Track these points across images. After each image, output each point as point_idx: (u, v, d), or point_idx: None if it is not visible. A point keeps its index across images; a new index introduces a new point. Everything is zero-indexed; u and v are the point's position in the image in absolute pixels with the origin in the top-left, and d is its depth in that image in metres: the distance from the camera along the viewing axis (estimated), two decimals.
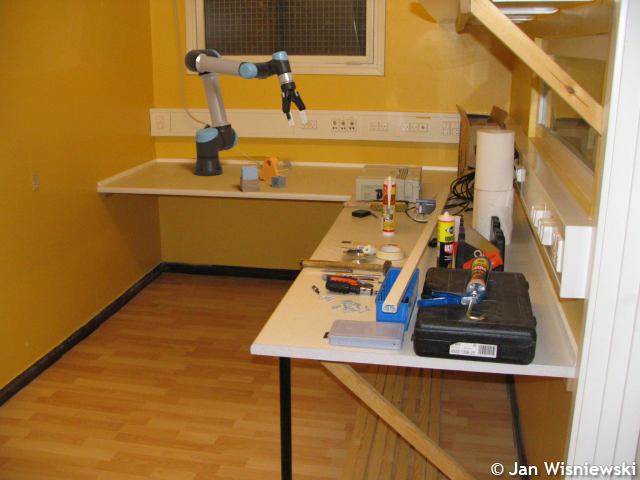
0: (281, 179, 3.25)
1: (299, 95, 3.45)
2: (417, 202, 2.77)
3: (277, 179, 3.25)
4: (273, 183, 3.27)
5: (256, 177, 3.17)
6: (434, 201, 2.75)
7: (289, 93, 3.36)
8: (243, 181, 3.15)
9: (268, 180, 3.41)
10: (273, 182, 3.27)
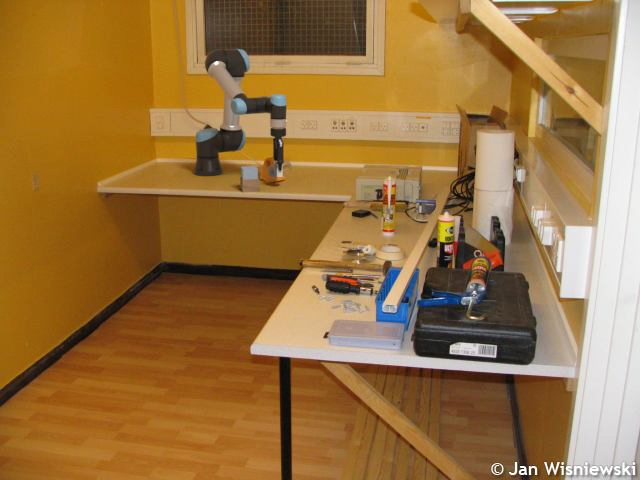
0: None
1: None
2: (417, 202, 2.77)
3: (274, 168, 3.23)
4: (270, 172, 3.26)
5: (256, 177, 3.17)
6: (434, 201, 2.75)
7: (281, 139, 3.20)
8: (243, 181, 3.15)
9: (268, 180, 3.41)
10: (270, 171, 3.25)
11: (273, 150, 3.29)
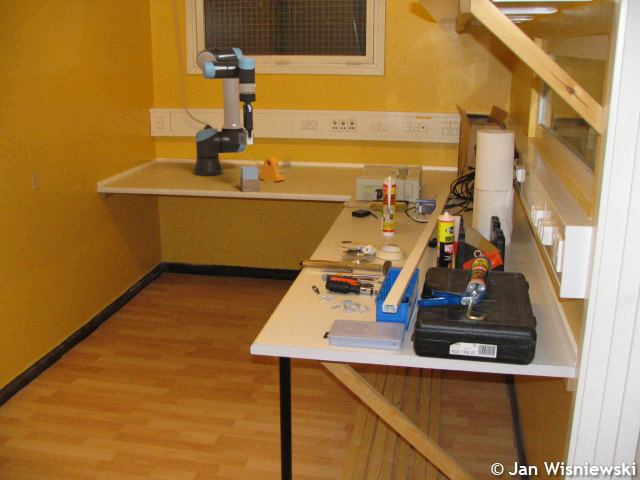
0: None
1: None
2: (417, 202, 2.77)
3: (244, 135, 3.10)
4: (240, 140, 3.13)
5: (256, 177, 3.17)
6: (434, 201, 2.75)
7: (250, 105, 3.08)
8: (243, 181, 3.15)
9: (268, 180, 3.41)
10: (240, 139, 3.13)
11: (243, 117, 3.17)
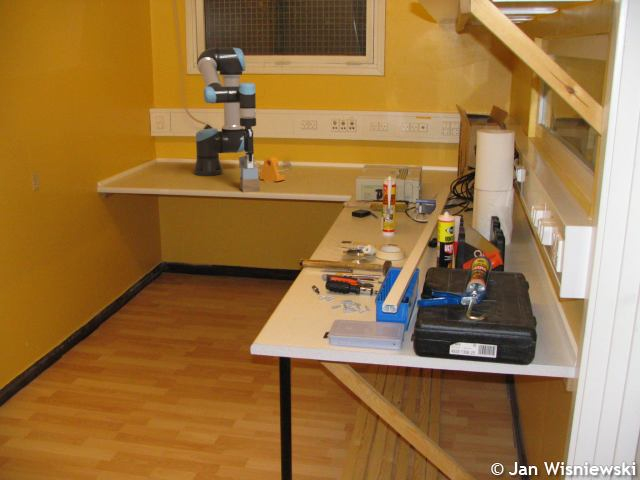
0: None
1: None
2: (417, 202, 2.77)
3: (244, 159, 3.14)
4: (241, 163, 3.16)
5: (256, 177, 3.17)
6: (434, 201, 2.75)
7: (251, 129, 3.11)
8: (243, 181, 3.15)
9: (268, 180, 3.41)
10: (241, 162, 3.16)
11: (244, 141, 3.20)
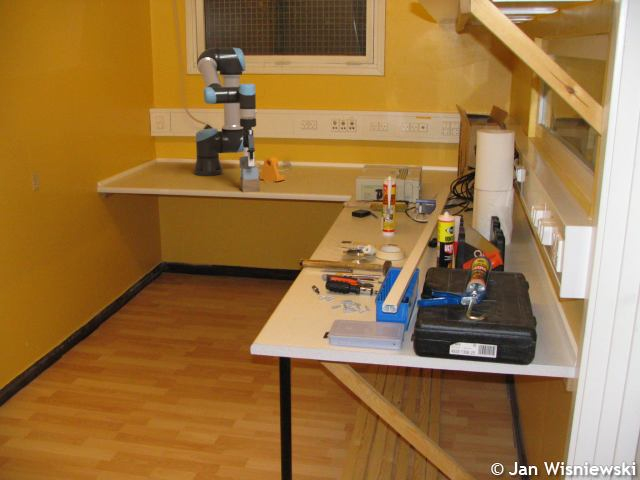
0: None
1: None
2: (417, 202, 2.77)
3: (245, 159, 3.14)
4: (241, 164, 3.16)
5: (257, 177, 3.17)
6: (434, 201, 2.75)
7: None
8: (243, 181, 3.15)
9: (268, 180, 3.41)
10: (241, 163, 3.16)
11: (243, 138, 3.22)
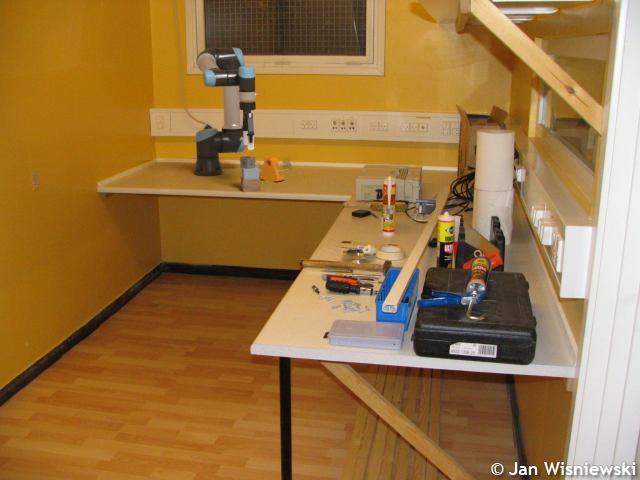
0: (250, 159, 3.15)
1: None
2: (417, 202, 2.77)
3: (246, 159, 3.14)
4: (242, 164, 3.16)
5: (257, 177, 3.17)
6: (434, 201, 2.75)
7: None
8: (244, 181, 3.15)
9: (268, 180, 3.41)
10: (242, 162, 3.16)
11: None
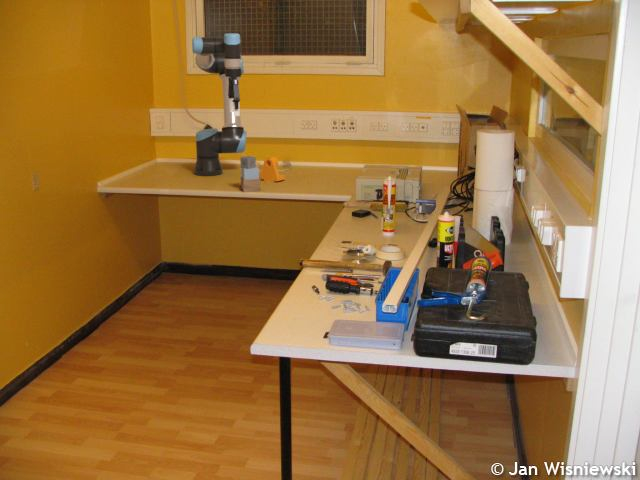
0: (250, 159, 3.15)
1: None
2: (417, 202, 2.77)
3: (246, 159, 3.14)
4: (242, 164, 3.16)
5: (257, 177, 3.17)
6: (434, 201, 2.75)
7: None
8: (244, 181, 3.16)
9: (268, 180, 3.41)
10: (242, 163, 3.16)
11: (228, 89, 3.24)
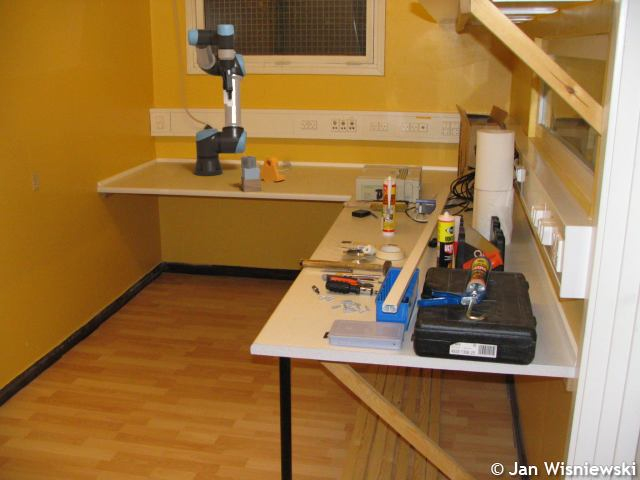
0: (251, 159, 3.15)
1: None
2: (417, 202, 2.77)
3: (247, 159, 3.14)
4: (243, 163, 3.16)
5: (258, 177, 3.17)
6: (434, 201, 2.75)
7: None
8: (245, 181, 3.16)
9: (268, 180, 3.41)
10: (243, 162, 3.16)
11: None
